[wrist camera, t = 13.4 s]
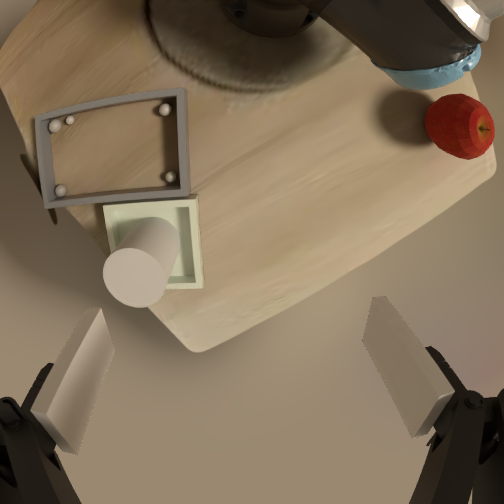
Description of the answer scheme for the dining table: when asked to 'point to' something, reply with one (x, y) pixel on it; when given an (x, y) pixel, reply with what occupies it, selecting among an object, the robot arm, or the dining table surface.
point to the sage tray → (180, 216)
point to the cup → (142, 262)
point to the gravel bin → (52, 201)
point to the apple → (460, 126)
